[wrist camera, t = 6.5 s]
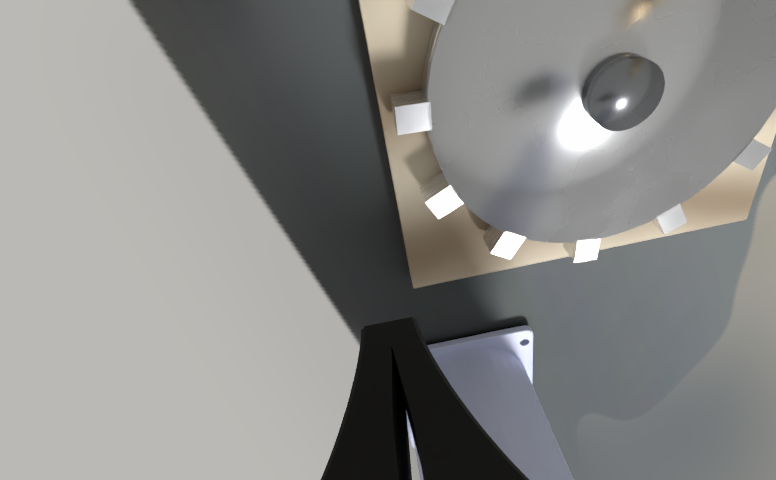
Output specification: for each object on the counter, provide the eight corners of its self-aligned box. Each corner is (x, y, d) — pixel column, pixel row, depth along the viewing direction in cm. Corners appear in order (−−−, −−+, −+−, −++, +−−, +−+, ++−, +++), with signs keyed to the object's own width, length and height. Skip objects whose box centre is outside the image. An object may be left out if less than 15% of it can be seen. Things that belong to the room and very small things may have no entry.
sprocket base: (731, 208, 23) (751, 222, 22) (410, 275, 23) (414, 293, 22) (889, -300, 13) (938, -317, 12) (324, -179, 13) (325, -185, 12)
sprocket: (621, 280, 24) (695, 374, 19) (328, 187, 19) (331, 283, 14) (915, -51, 16) (1156, -29, 11) (551, -355, 11) (717, -532, 6)
